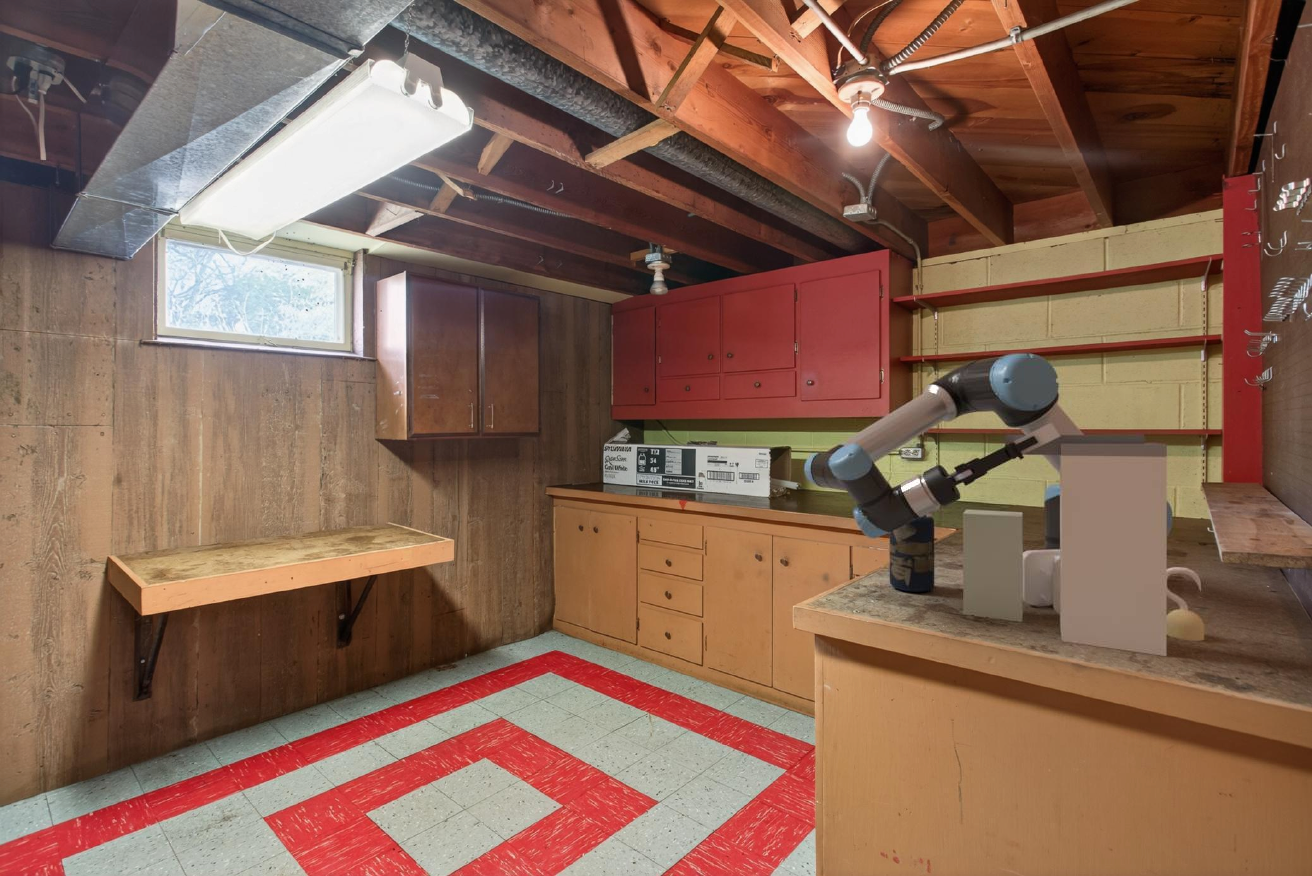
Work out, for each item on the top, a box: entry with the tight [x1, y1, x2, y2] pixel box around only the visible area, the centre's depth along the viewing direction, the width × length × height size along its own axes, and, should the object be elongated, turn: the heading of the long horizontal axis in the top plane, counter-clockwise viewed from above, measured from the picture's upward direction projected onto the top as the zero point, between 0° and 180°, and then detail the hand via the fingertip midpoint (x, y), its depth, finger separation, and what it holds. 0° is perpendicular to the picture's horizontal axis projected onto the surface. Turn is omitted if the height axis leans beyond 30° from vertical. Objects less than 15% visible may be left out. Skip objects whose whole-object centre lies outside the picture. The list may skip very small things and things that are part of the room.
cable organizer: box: [1023, 549, 1060, 615], centre depth 123 cm, size 15×11×12 cm
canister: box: [888, 514, 935, 593], centre depth 141 cm, size 10×10×18 cm
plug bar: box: [1004, 434, 1146, 456], centre depth 108 cm, size 4×20×4 cm, turn 58°
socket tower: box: [1059, 442, 1168, 657], centre depth 105 cm, size 8×14×34 cm, turn 58°
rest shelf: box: [962, 508, 1024, 623], centre depth 122 cm, size 7×10×20 cm
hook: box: [1166, 566, 1205, 642], centre depth 108 cm, size 6×5×12 cm
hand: (1055, 429), depth 109 cm, fingers closed on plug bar, 3 cm apart
